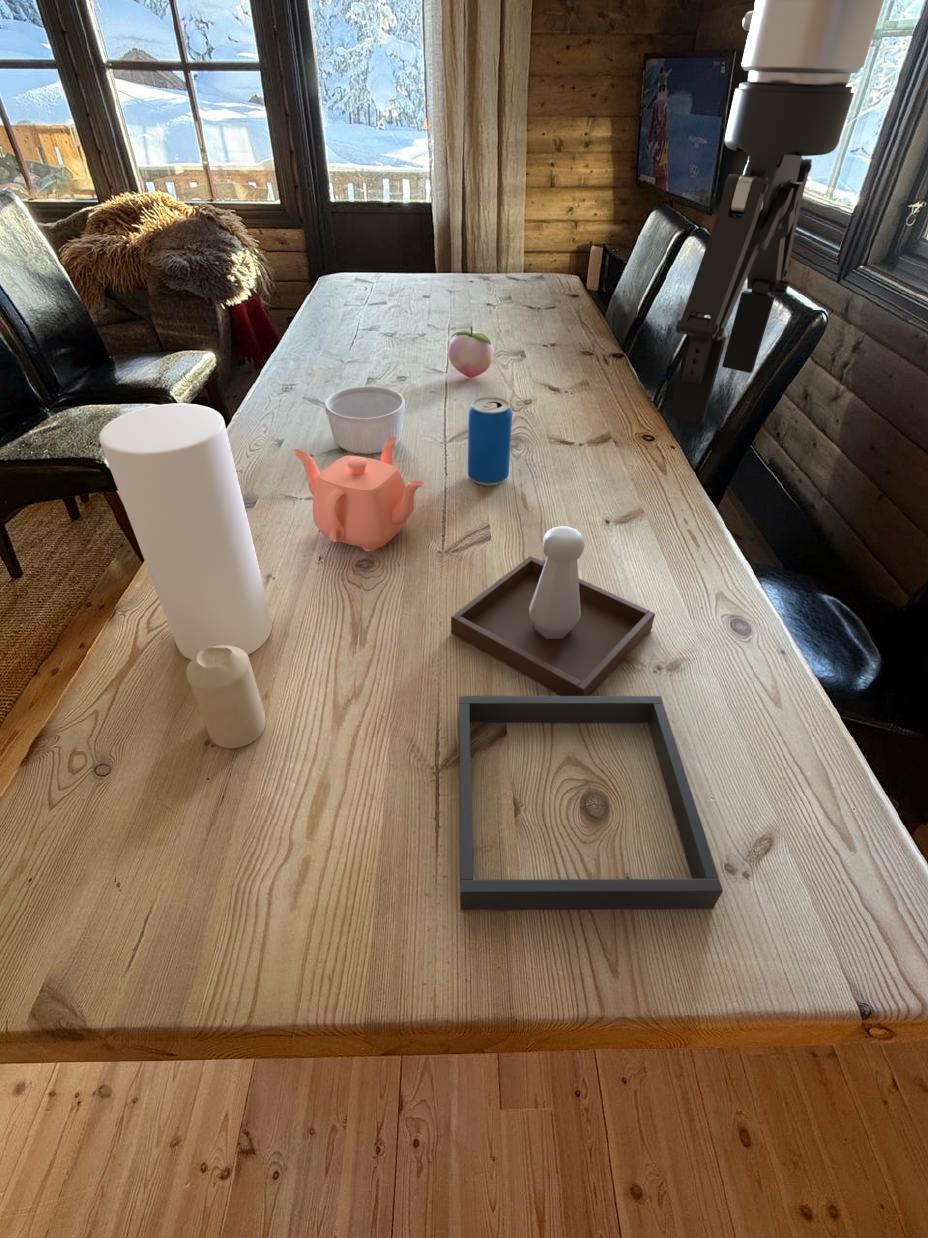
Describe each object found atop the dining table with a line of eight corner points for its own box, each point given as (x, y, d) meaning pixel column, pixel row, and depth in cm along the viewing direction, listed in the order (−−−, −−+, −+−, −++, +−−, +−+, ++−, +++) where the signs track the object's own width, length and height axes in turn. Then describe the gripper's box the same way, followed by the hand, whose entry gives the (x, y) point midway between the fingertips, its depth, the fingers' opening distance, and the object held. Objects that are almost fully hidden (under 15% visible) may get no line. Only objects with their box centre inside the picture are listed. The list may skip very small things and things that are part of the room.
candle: (267, 703, 68) (247, 631, 61) (265, 745, 64) (243, 672, 57) (212, 709, 67) (186, 637, 60) (205, 752, 63) (177, 680, 56)
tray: (651, 630, 77) (655, 613, 75) (580, 707, 68) (584, 689, 66) (528, 571, 85) (529, 555, 84) (450, 633, 76) (450, 616, 75)
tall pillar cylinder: (290, 632, 76) (245, 427, 60) (204, 678, 70) (129, 466, 54) (242, 590, 82) (189, 393, 65) (159, 630, 76) (79, 425, 60)
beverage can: (516, 477, 104) (521, 404, 96) (489, 492, 101) (492, 417, 93) (486, 463, 107) (489, 391, 100) (459, 477, 104) (459, 404, 96)
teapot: (303, 515, 95) (291, 444, 88) (399, 499, 99) (395, 430, 92) (322, 572, 85) (311, 497, 78) (428, 551, 89) (426, 478, 81)
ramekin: (413, 453, 110) (411, 413, 105) (333, 462, 107) (328, 421, 103) (399, 420, 120) (397, 382, 115) (326, 427, 117) (321, 389, 113)
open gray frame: (654, 715, 67) (661, 695, 65) (713, 909, 52) (723, 891, 50) (459, 715, 67) (459, 695, 65) (460, 910, 52) (460, 892, 50)
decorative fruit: (499, 374, 137) (502, 323, 131) (484, 387, 132) (486, 336, 125) (458, 367, 140) (459, 317, 134) (442, 380, 135) (441, 329, 128)
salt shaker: (537, 606, 79) (548, 513, 71) (583, 619, 77) (599, 526, 69) (520, 635, 75) (528, 540, 67) (568, 650, 73) (583, 555, 65)
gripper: (786, 74, 53) (717, 344, 67) (674, 80, 38) (614, 431, 51) (888, 76, 50) (793, 359, 64) (812, 85, 34) (708, 457, 48)
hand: (713, 392), depth 58 cm, fingers open, 13 cm apart
